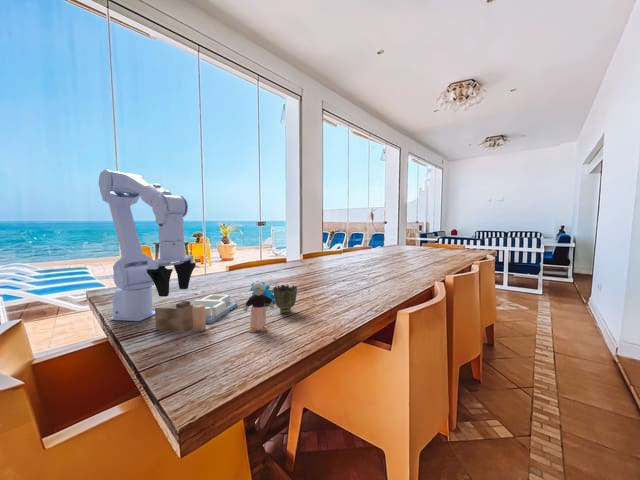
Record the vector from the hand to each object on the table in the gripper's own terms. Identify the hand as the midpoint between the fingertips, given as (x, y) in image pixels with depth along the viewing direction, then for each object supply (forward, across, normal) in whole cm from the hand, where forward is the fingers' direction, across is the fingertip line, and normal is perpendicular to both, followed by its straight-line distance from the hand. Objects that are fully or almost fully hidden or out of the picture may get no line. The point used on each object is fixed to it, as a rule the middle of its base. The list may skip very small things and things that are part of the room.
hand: (174, 292), depth 68 cm
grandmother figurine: (+10, +2, -23) cm, 25 cm away
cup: (+10, +16, -26) cm, 32 cm away
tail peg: (+10, 0, -7) cm, 12 cm away
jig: (+10, +12, -2) cm, 15 cm away
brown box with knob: (+10, 0, 0) cm, 10 cm away
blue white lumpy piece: (+10, +25, -16) cm, 31 cm away
